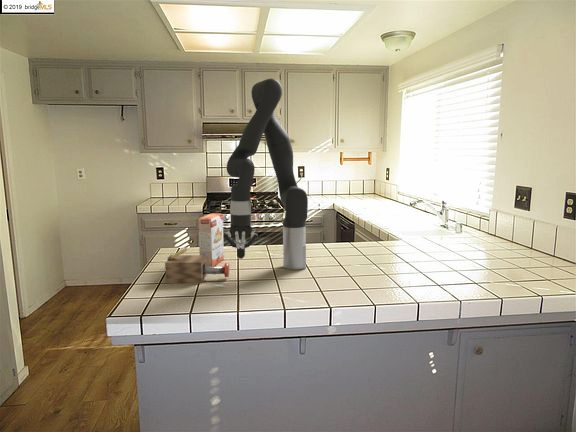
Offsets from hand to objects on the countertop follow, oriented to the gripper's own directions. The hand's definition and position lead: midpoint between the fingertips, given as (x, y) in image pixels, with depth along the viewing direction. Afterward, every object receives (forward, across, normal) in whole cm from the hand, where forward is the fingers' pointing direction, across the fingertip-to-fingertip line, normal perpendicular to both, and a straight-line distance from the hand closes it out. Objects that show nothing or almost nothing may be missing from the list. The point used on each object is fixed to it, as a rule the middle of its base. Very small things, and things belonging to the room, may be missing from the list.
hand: (240, 258), depth 153 cm
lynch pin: (+7, +12, 0) cm, 14 cm away
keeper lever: (-1, +23, +1) cm, 23 cm away
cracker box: (+8, +15, -20) cm, 27 cm away
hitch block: (+8, +20, +1) cm, 22 cm away
